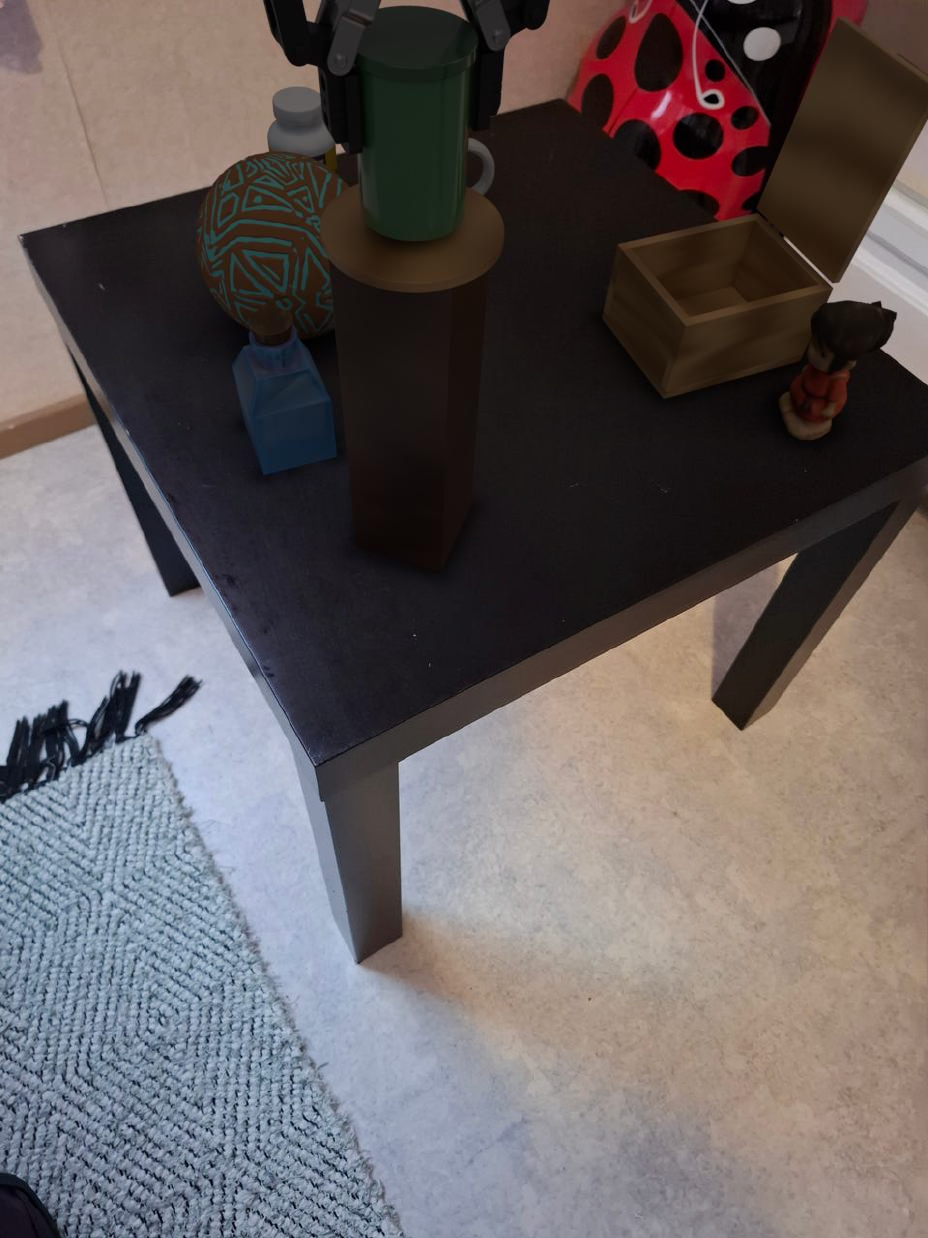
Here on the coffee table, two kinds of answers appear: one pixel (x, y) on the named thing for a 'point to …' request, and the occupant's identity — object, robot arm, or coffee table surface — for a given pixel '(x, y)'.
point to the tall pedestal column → (410, 373)
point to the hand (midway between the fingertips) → (412, 133)
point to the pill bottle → (301, 126)
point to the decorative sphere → (269, 239)
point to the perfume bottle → (282, 395)
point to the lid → (845, 147)
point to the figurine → (832, 363)
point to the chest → (712, 303)
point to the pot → (415, 121)
